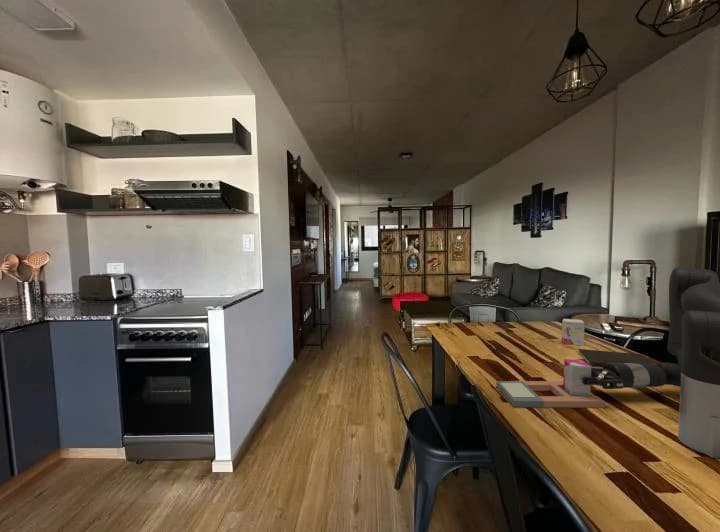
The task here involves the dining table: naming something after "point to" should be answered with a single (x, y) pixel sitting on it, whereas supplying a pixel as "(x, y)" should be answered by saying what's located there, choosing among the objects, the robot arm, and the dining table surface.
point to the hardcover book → (612, 357)
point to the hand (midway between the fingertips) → (574, 375)
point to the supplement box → (576, 377)
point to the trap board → (526, 397)
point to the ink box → (573, 332)
